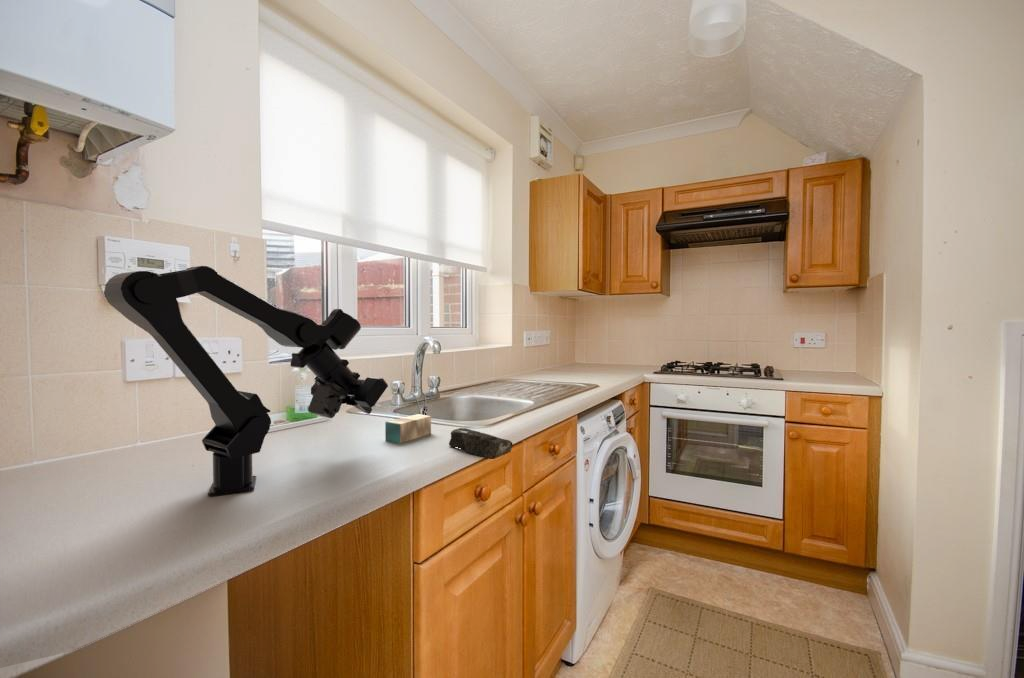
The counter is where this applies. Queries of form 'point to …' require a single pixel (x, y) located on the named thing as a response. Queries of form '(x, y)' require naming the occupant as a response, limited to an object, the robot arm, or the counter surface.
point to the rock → (479, 443)
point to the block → (407, 428)
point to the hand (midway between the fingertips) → (369, 412)
